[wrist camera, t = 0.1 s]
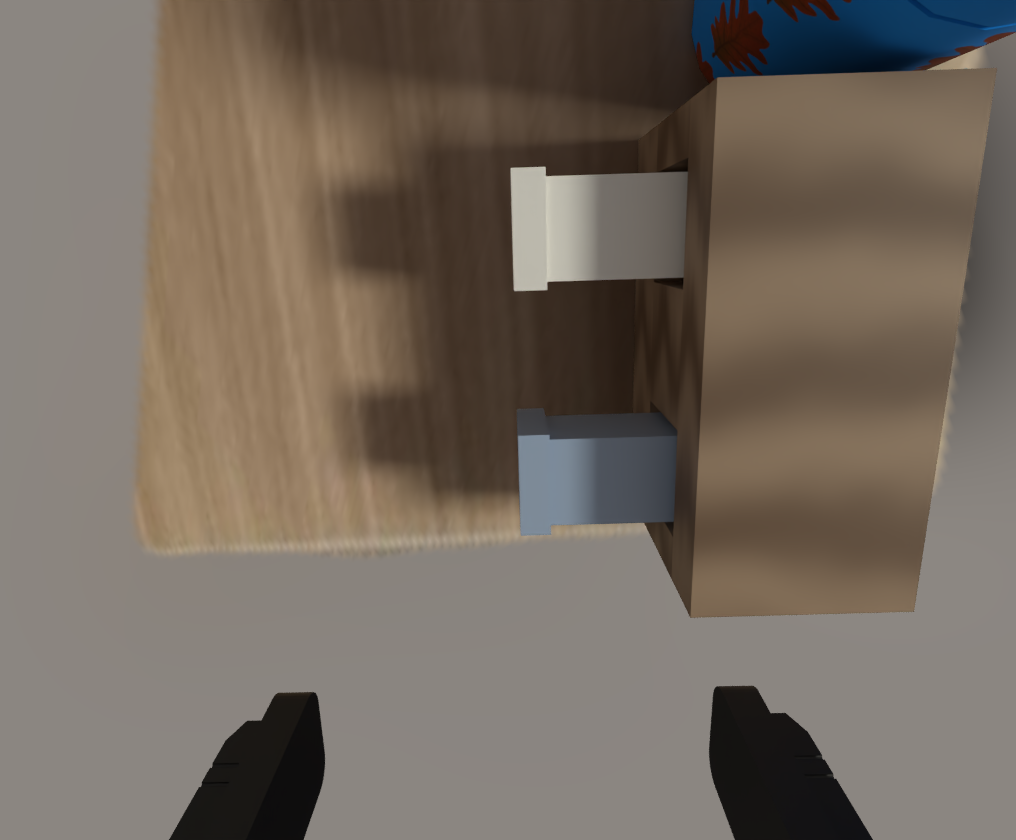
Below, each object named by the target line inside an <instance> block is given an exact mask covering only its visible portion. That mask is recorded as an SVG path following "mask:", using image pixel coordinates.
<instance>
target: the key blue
mask: <svg viewBox="0 0 1016 840" xmlns="http://www.w3.org/2000/svg"><path fill="white" fill-rule="evenodd" d="M517 438H518V474H519V505H520V528H521V535H551V525H577V524H613V523H649V522H674V504H675V479H676V454H677V429H676V428H675V427H674V426H673V425H672V424H671V423H670V422H669V421H668V420H667V418H666V417H665V416H664V415H663V414H662V413H661V412H657V413H623V414H589V415H556V416H545V412H544V408H531V409H517Z"/></svg>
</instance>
